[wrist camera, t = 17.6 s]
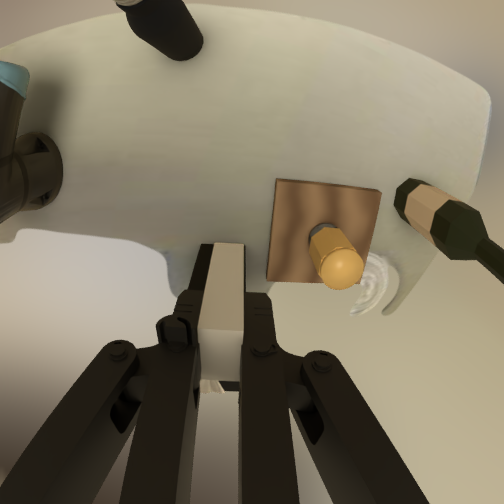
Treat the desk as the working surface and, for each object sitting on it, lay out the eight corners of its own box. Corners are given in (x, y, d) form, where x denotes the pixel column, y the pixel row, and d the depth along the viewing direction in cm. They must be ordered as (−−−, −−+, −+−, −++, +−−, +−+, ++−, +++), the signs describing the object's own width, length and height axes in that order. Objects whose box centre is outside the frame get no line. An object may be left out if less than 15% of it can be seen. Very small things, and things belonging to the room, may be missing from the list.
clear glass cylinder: (306, 251, 49) (318, 283, 40) (311, 221, 47) (326, 248, 38) (336, 253, 50) (354, 284, 41) (342, 223, 47) (363, 250, 38)
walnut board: (266, 275, 54) (266, 281, 52) (276, 178, 46) (277, 181, 44) (356, 278, 55) (359, 283, 53) (377, 189, 46) (381, 192, 45)
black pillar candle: (243, 282, 54) (244, 413, 29) (201, 281, 54) (175, 409, 29) (245, 244, 51) (247, 372, 26) (200, 243, 50) (165, 367, 25)
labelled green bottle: (385, 207, 48) (493, 305, 21) (407, 169, 45) (534, 240, 18) (414, 226, 50) (514, 322, 23) (435, 191, 46) (549, 268, 20)
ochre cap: (306, 261, 47) (317, 289, 40) (312, 226, 44) (325, 249, 37) (342, 263, 47) (357, 290, 40) (350, 229, 44) (368, 251, 37)
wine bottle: (212, 39, 35) (162, -61, 8) (184, 68, 37) (90, 8, 10) (182, 19, 33) (104, -79, 6) (155, 48, 35) (42, -16, 8)
